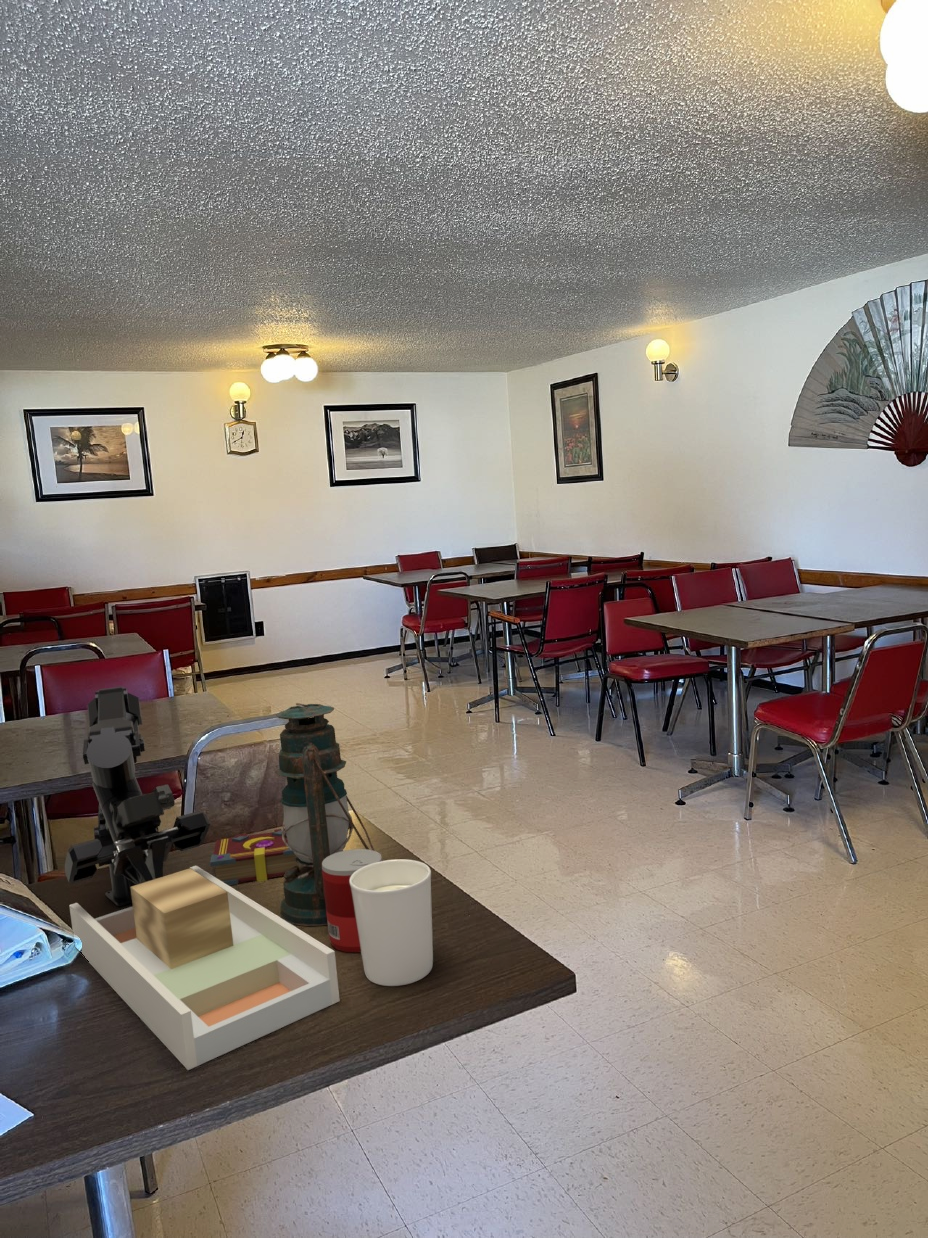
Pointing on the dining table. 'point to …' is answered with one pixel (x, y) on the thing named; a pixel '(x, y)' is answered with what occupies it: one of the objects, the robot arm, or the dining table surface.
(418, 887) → the candle holder
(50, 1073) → the dining table surface
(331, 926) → the canned food
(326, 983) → the tray
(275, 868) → the decorative book
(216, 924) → the wooden block
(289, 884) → the lantern
